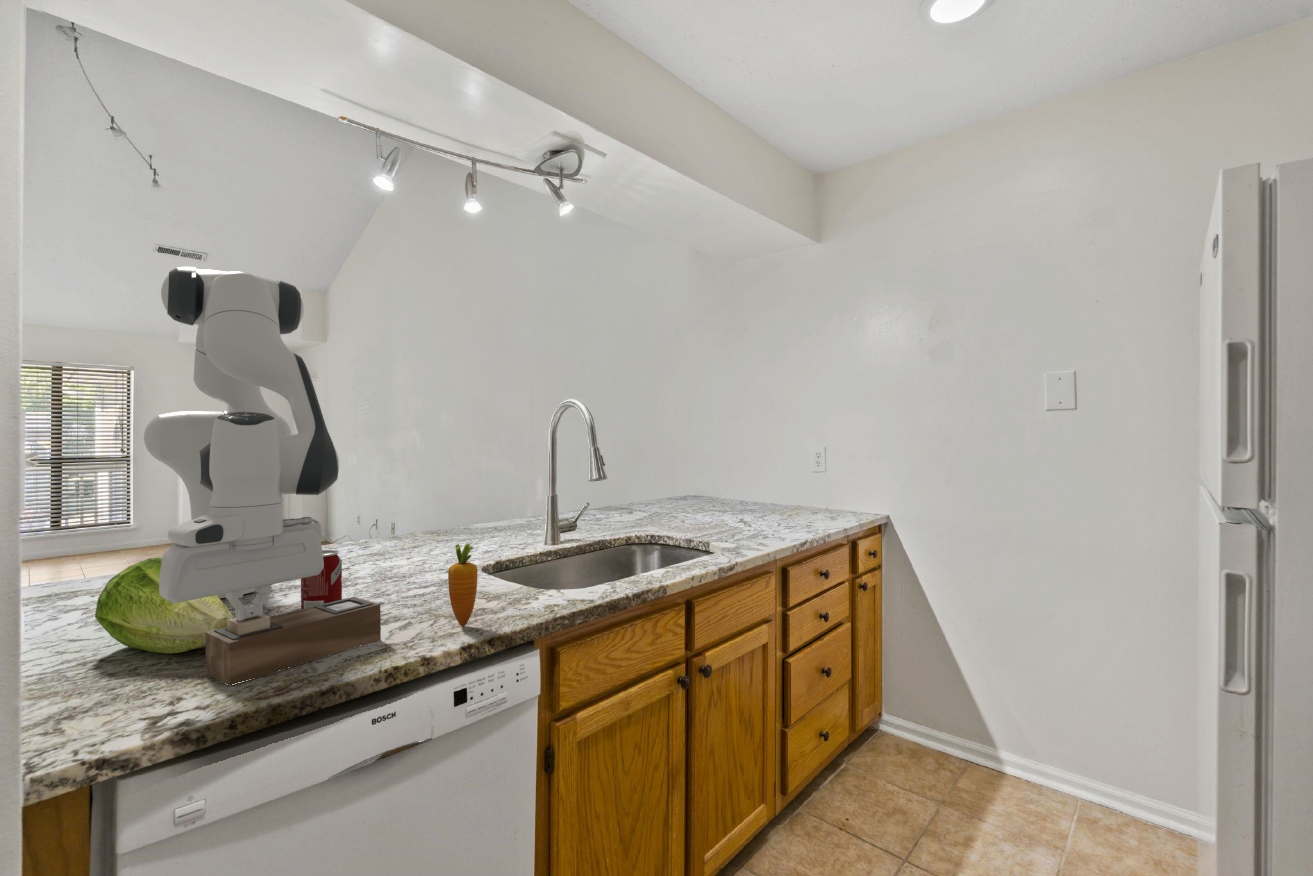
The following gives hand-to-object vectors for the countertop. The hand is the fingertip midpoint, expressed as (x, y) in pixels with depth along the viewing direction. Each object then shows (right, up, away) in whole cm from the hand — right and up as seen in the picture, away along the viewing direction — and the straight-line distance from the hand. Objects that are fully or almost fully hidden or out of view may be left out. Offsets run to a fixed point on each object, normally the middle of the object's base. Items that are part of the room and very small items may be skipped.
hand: (249, 618), depth 88 cm
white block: (+8, -8, +12) cm, 16 cm away
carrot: (+25, -8, +19) cm, 33 cm away
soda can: (-4, -7, +25) cm, 27 cm away
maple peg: (0, -6, 0) cm, 6 cm away
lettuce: (-17, -8, +8) cm, 20 cm away
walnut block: (+4, -8, +6) cm, 10 cm away
